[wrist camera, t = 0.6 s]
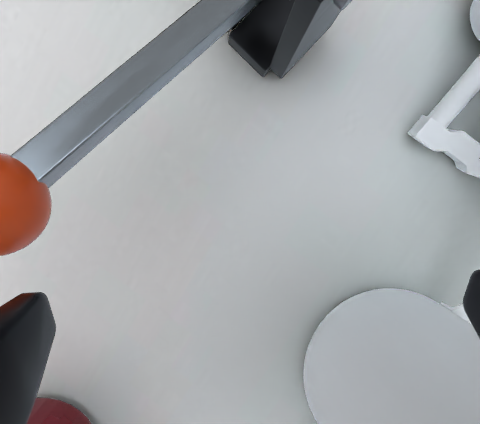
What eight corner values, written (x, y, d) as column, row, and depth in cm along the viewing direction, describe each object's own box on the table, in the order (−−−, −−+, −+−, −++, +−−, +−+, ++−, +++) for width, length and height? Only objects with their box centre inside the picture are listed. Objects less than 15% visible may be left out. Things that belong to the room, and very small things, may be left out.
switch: (9, 278, 12) (-37, 280, 9) (-65, 213, 11) (-136, 194, 8) (330, -21, 17) (368, -82, 14) (283, -69, 16) (311, -142, 14)
